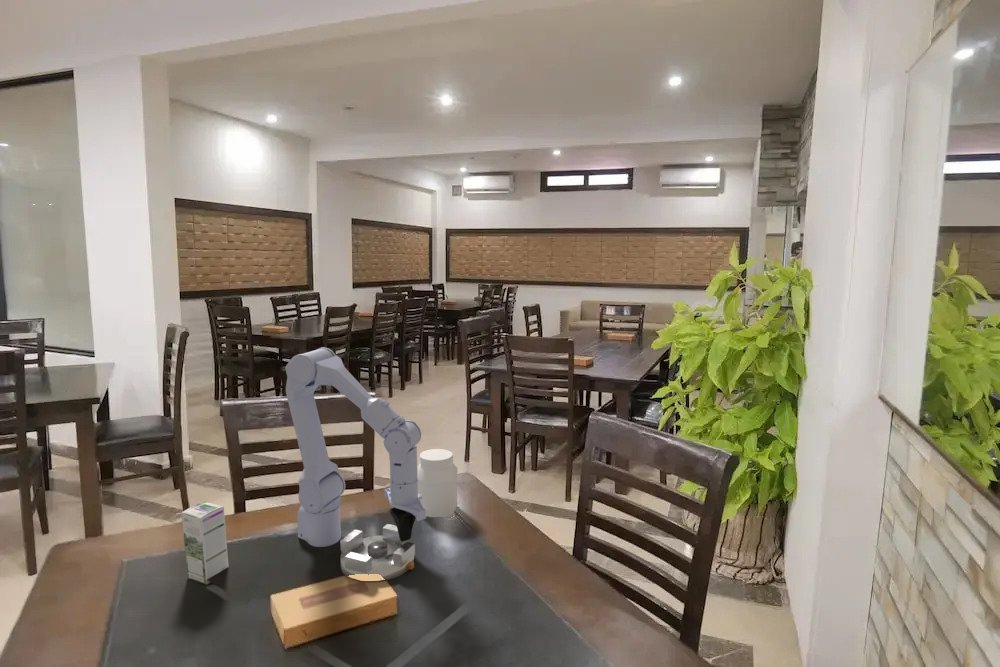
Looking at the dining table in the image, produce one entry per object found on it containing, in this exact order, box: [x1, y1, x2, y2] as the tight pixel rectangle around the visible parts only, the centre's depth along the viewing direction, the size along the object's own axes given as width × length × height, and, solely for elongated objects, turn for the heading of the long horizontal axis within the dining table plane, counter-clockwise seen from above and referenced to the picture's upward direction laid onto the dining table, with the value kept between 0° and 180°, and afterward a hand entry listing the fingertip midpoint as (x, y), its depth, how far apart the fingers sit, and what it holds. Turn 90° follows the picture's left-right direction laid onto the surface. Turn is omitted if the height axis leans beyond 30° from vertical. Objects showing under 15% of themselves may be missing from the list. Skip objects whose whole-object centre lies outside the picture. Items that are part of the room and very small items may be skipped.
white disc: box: [339, 523, 416, 581], centre depth 123 cm, size 16×15×4 cm
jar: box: [417, 448, 458, 519], centre depth 149 cm, size 12×10×15 cm
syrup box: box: [181, 501, 230, 585], centre depth 119 cm, size 6×6×14 cm
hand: (405, 539), depth 127 cm, fingers closed
